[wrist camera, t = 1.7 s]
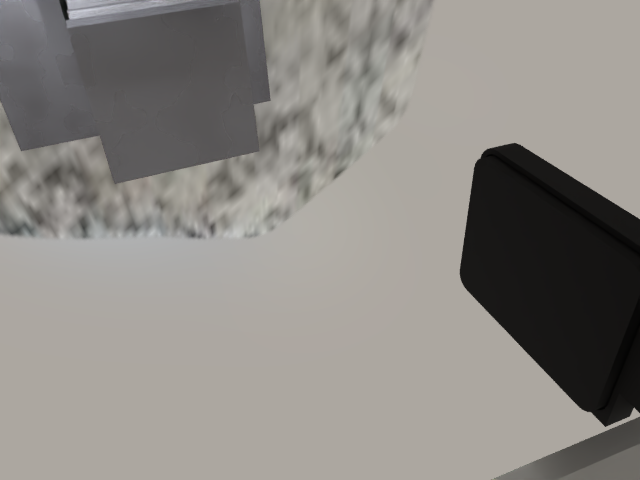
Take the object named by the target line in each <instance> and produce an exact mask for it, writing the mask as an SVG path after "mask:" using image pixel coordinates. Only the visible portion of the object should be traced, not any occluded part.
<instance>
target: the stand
mask: <svg viewBox="0 0 640 480" xmlns="http://www.w3.org/2000/svg"><path fill="white" fill-rule="evenodd" d="M238 1H239V2H240V5H241V13H242V21H243V28H244V36H245V44H246V51H247V59H248V67H249V74H250V82H251V90H252V97H253V104H257V103H262V102H267V101H270V92H269V83H268V74H267V65H266V56H265V47H264V38H263V29H262V20H261V11H260V2H259V0H238ZM67 10H68V7H67V3H66V0H0V100H1V103H2V105H3V107H4V110H5V112H6V115H7V117H8V120H9V122H10V125H11V127H12V130H13V132H14V135H15V137H16V140H17V142H18V145H19V147H20V149H21V151H24V150H29V149H34V148H39V147H44V146H49V145H54V144H59V143H64V142H69V141H73V140H78V139H83V138H88V137H93V136H98V135H99V131H98V128H97V125H96V122H95V118H94V115H93V112H92V109H91V105H90V102H89V99H88V96H87V92H86V89H85V86H84V83H83V79H82V76H81V73H80V70H79V67H78V63H77V60H76V57H75V54H74V50H73V47H72V44H71V41H70V37H69V34H68V31H67V27H66V20H69V17H68V14H67Z"/></svg>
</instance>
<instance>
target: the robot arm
mask: <svg viewBox="0 0 640 480" xmlns="http://www.w3.org/2000/svg"><path fill="white" fill-rule="evenodd" d="M460 278H461V281H462V283H463V285H464V287H465V288H466V289H467V291H469V293H470V294H471V295H472V296H473V297H474V298H475V299H476V300H477V301H478V302H479V303H480V304H481V305H482V306H483V307H484V308H485V309H486V310H487V311H488V312H489V314H490V315H491V316H492V317H493V318H494V319H495V320H496V321H497V322H498V323H499V324H500V325H501V326H502V327H503V328H504V329H505V330H506V331H507V332H508V333H509V334H510V335H511V336H512V337H513V338H514V340H515V341H516V342H517V343H518V344H519V345H520V346H521V347H522V348H523V349H524V350H525V351H526V352H527V353H528V354H529V355H530V356H531V357H532V358H533V359H534V360H535V361H536V363H538V365H539V366H540V367H541V368H542V369H543V370H544V371H545V372H546V373H547V374H548V375H549V376H550V377H551V378H552V379H553V380H554V381H555V382H556V383H557V384H558V385H559V386H560V388H561V389H562V390H563V391H564V392H565V393H566V394H567V395H568V396H569V397H570V398H571V399H572V400H573V401H574V402H575V403H576V404H577V405H578V406H579V407H580V408H581V409H582V410H584V411H587V412H592V413H593V415H594V416H596V418H597V419H598V420H599V421H600V422H601V423H602V424H603V425H604V426H605V427H606V426H608V425H611V424H613V423H615V422H618V421H620V420H622V419H625V418H627V417H629V416H630V415H631V412H632V410H633V408H635V409H636V410H637V411H638V412H639V413H640V219H638V218H637V217H635V216H634V215H632V214H631V213H629V212H627V211H626V210H624V209H622V208H620V207H619V206H618V205H616V204H614V203H613V202H611V201H610V200H608V199H606V198H605V197H603V196H602V195H600V194H598V193H597V192H595V191H593V190H592V189H590V188H589V187H587V186H585V185H584V184H582V183H580V182H579V181H577V180H576V179H574V178H573V177H571V176H569V175H568V174H566V173H564V172H563V171H561V170H559V169H558V168H556V167H555V166H553V165H552V164H550V163H548V162H547V161H545V160H544V159H542V158H540V157H539V156H537V155H535V154H534V153H532V152H531V151H529V150H527V149H525V148H524V147H523V146H521V145H519V144H516V143H512V144H508V145H503V146H499V147H494V148H490V149H487V150H486V151H484V152H483V154H482V156H481V159H479V160H477V162H476V164H475V167H474V174H473V181H472V188H471V195H470V202H469V209H468V216H467V223H466V230H465V238H464V245H463V252H462V259H461V266H460ZM492 480H640V417H638V418H636V419H634V420H631V421H629V422H626V423H624V424H622V425H619V426H617V427H615V428H612V429H610V430H608V431H605V432H603V433H601V434H598V435H596V436H593V437H591V438H589V439H586V440H584V441H581V442H579V443H577V444H574V445H572V446H570V447H567V448H565V449H562V450H560V451H558V452H555V453H553V454H551V455H548V456H546V457H544V458H541V459H539V460H536V461H534V462H532V463H529V464H527V465H525V466H522V467H520V468H518V469H515V470H513V471H511V472H508V473H506V474H504V475H501V476H499V477H497V478H494V479H492Z"/></svg>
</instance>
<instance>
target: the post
mask: <svg viewBox="0 0 640 480" xmlns="http://www.w3.org/2000/svg"><path fill="white" fill-rule="evenodd" d="M66 3H67V7H68V10H67V14H68V17H69V20H66V27H67V31H68V34H69V37H70V41H71V44H72V47H73V50H74V54H75V57H76V60H77V63H78V67H79V70H80V73H81V76H82V79H83V83H84V86H85V89H86V92H87V96H88V99H89V102H90V105H91V109H92V112H93V115H94V118H95V122H96V125H97V128H98V131H99V135H100V138H101V141H102V144H103V147H104V151H105V154H106V157H107V160H108V164H109V167H110V170H111V173H112V177H113V180H114V183H115V184H116V183H121V182H125V181H129V180H134V179H138V178H143V177H147V176H152V175H156V174H160V173H165V172H169V171H174V170H178V169H183V168H187V167H191V166H196V165H200V164H205V163H209V162H214V161H218V160H222V159H227V158H231V157H236V156H240V155H244V154H249V153H253V152H258V151H259V144H258V136H257V128H256V120H255V113H254V105H253V97H252V90H251V82H250V74H249V67H248V59H247V51H246V44H245V36H244V28H243V21H242V13H241V5H240V2H239V1H238V0H66Z"/></svg>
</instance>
